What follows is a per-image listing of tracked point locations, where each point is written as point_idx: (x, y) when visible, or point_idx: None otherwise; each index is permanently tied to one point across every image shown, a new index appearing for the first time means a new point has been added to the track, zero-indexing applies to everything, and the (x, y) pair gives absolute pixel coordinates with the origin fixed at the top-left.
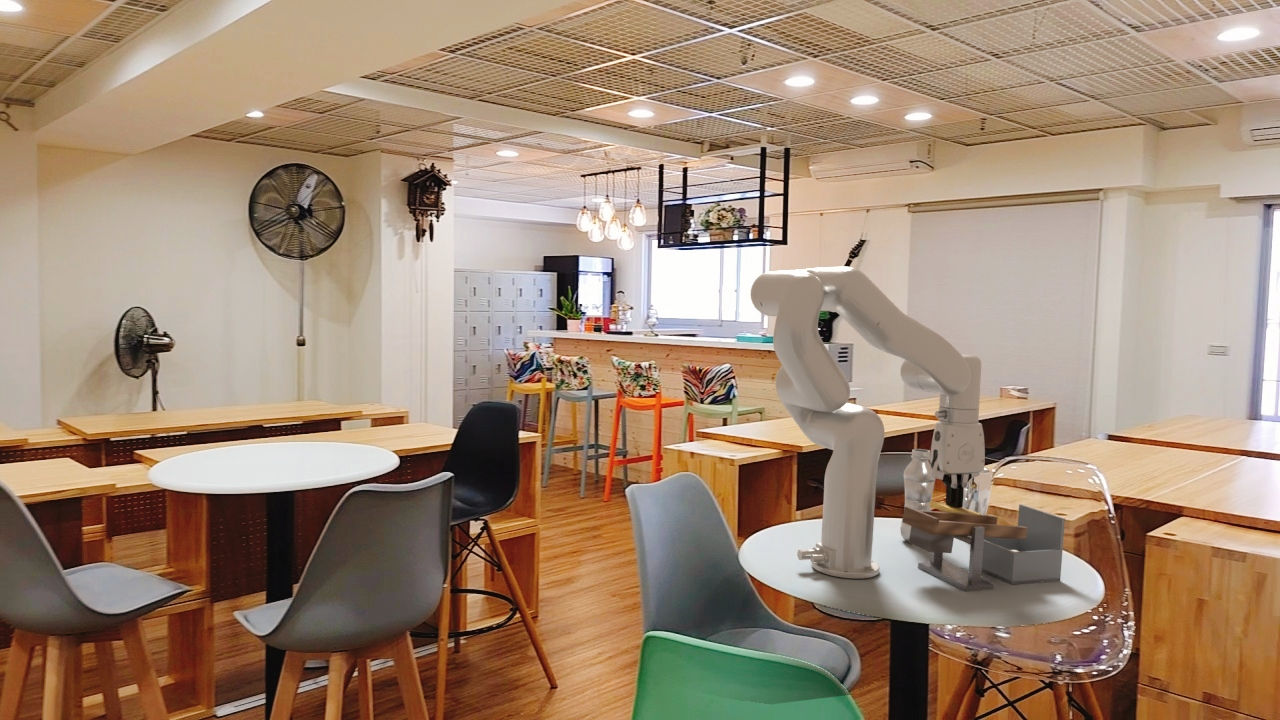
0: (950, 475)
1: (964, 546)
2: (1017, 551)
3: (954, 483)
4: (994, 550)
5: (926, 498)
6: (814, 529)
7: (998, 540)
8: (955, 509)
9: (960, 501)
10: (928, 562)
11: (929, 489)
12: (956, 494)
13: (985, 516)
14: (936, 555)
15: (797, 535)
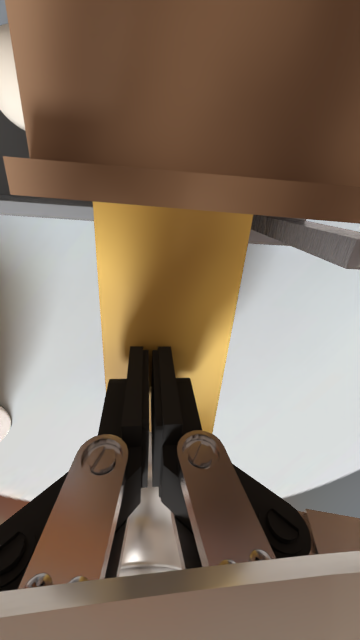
0: (268, 555)
1: (45, 360)
2: (9, 50)
3: (199, 470)
4: None
5: (141, 491)
6: (275, 475)
7: (23, 200)
8: (206, 313)
9: (142, 365)
10: (272, 240)
11: (130, 528)
12: (177, 393)
13: (105, 165)
14: (284, 217)
15: (329, 454)
